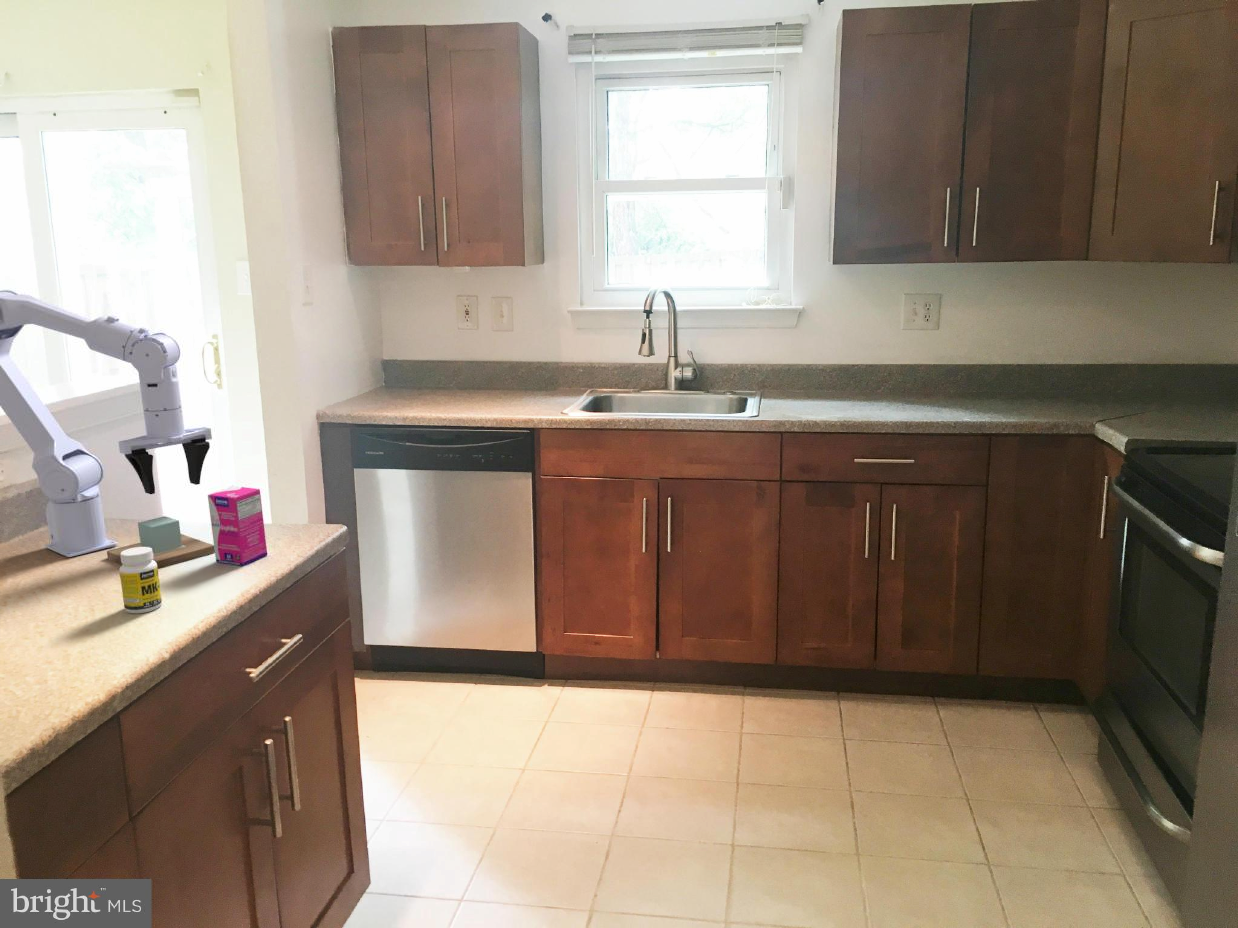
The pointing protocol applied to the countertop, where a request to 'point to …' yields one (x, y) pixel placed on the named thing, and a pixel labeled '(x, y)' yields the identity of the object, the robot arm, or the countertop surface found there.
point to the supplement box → (237, 525)
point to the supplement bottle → (139, 580)
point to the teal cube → (160, 534)
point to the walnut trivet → (171, 552)
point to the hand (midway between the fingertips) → (173, 488)
